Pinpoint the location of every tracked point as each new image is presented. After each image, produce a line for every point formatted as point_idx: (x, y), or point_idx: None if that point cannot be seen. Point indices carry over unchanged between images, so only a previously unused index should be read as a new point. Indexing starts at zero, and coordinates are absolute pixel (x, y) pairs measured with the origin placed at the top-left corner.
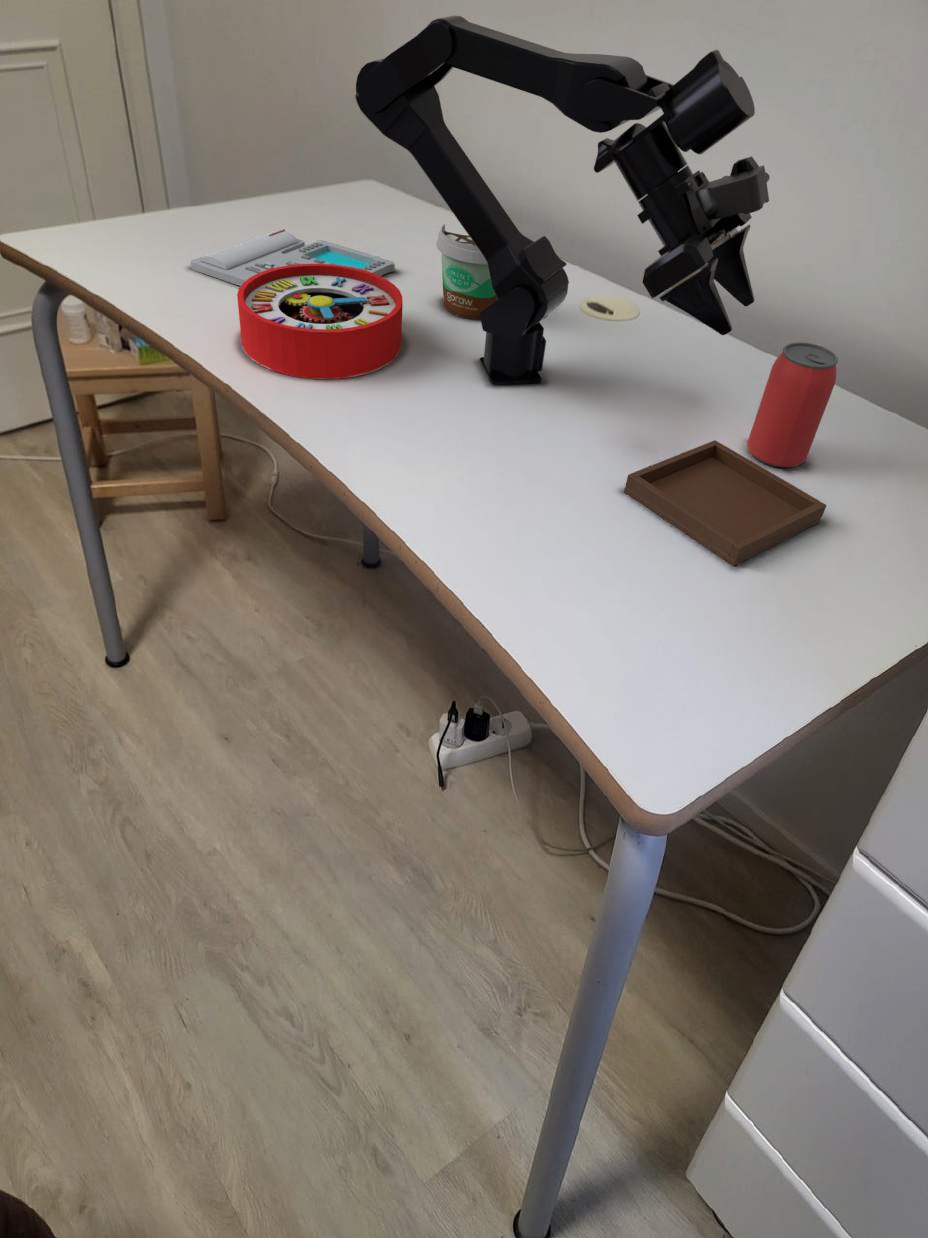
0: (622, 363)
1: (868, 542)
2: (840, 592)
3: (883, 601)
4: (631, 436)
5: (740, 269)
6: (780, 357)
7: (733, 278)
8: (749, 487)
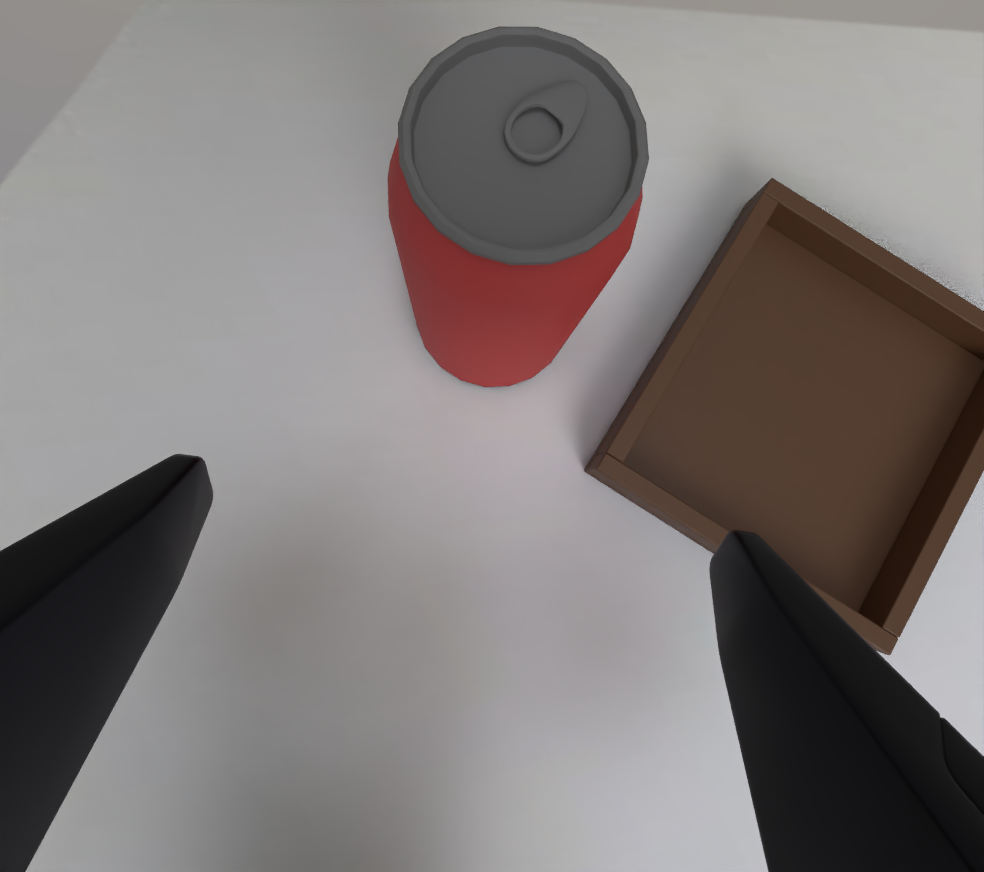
0: (118, 836)
1: (769, 108)
2: (966, 161)
3: (951, 87)
4: (581, 688)
5: (1, 654)
6: (546, 278)
7: (76, 667)
8: (711, 359)
